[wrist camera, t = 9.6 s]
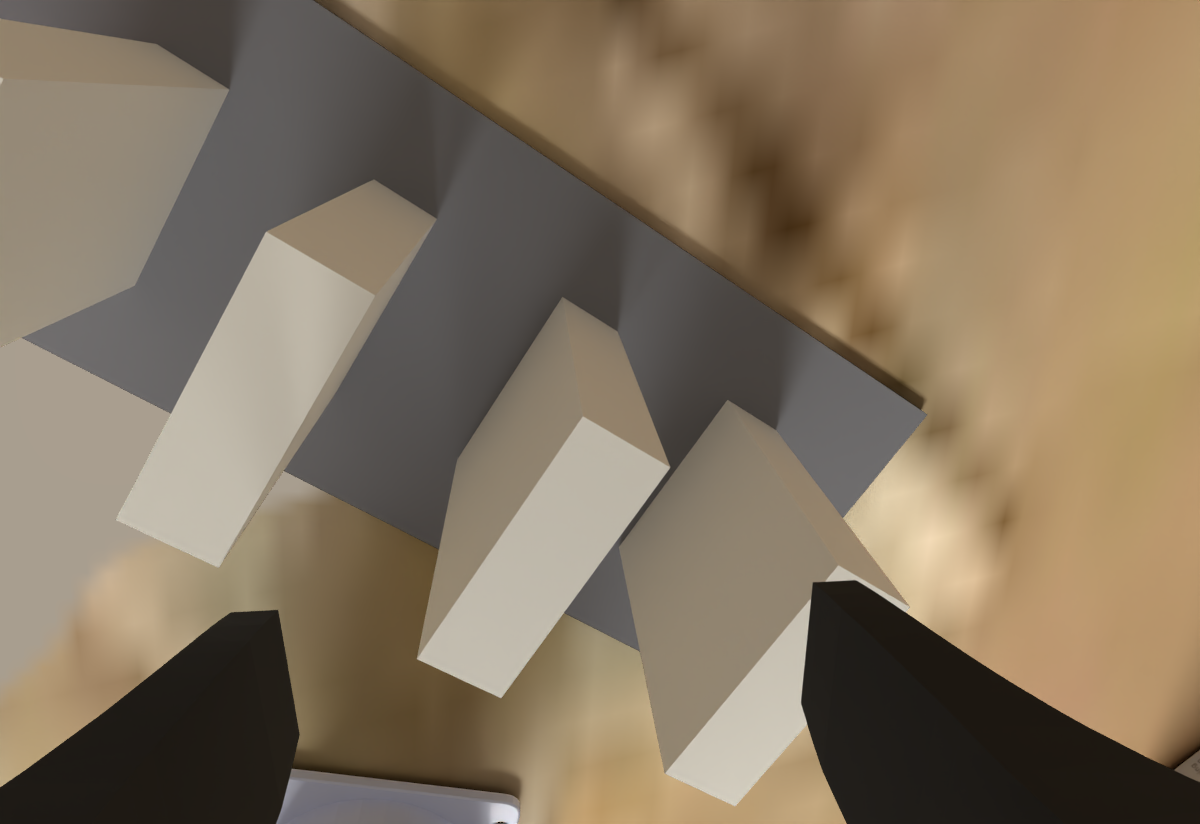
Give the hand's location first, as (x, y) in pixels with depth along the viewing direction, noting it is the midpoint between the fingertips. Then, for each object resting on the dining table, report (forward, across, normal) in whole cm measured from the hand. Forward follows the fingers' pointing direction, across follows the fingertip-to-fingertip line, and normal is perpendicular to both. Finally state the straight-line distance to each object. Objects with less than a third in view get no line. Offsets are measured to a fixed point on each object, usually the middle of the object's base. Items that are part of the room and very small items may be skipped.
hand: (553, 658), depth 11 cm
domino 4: (+10, -4, +3) cm, 11 cm away
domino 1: (+10, +8, -6) cm, 14 cm away
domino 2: (+10, +4, -3) cm, 11 cm away
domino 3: (+10, 0, 0) cm, 10 cm away
